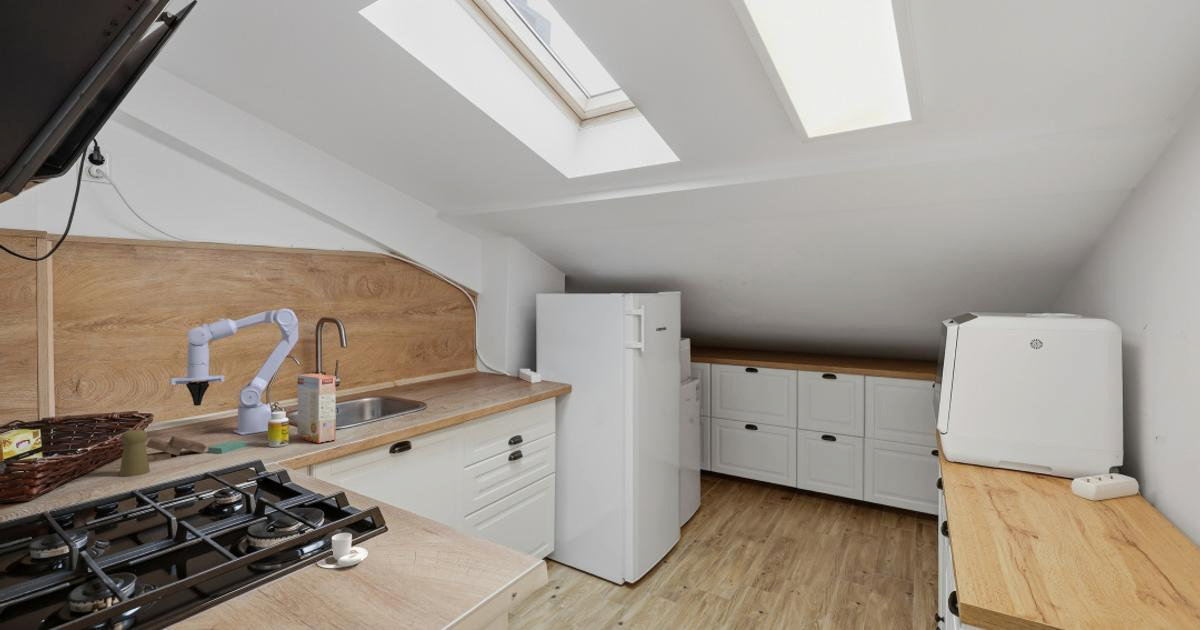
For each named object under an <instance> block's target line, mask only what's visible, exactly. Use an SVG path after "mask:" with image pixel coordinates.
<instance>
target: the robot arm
mask: <svg viewBox="0 0 1200 630" xmlns="http://www.w3.org/2000/svg"><path fill="white" fill-rule="evenodd" d="M296 315H297V314H296V313H295V312H294V311H293V310H292V309H289V308H280V309H273V310H267V311H262V312H259V313H255V314H253V315H249V316H246V317H243V318H240V319H237V320H233V319H230V318H225V317H224V318H219V319H218V320H217V321H215V322H211V323H208V324H207V323H203V324H202V326H197V327H194V328H192V329H190V330H189V331H188V332H187V341H189V342H188V344H187V345H188V346H187V347H188V349H187V366H186V367H187V371H186V376H185V377H183V376H182V377H173V378H172V377H171V378H169V385H170V386H175V385H186V388H187V389H188V391H189V393H190V395H191V398H192V403H193V405H194V406H195V407H196V406H197V407H199V406H201V405H202V401H203V398H204V395H205V394H206V391H207V390H208V389H209V387H210V383H217V382H218V383H219V382H220V383H222V382H223V383H224V382H225V375H223V374H221V375H209V374H210V373H209V372H210V349H209V341H213V342H214V341H218V340H220V339H225V338H228V337H230V336H234V335H235V334H236V333H237V331H238V330H240V329H245V328H247V327H251V326H255V325H258V324H259V325H260V324H263V323H265V324H274V322H275V323H276V324H277V327H279V329H280V333H281V339H280V341H278V343H277V345H276V346H275V347H274V349H273V350H272V352H270V354H269V356H268V357H267V358H266V360H265V361H264V362H263V364H262V366H261V367H260V368H259V369H258V371H257V373H256V374H255V375H254V377H253V378H252V379H251V381H250V382H249V383H248V384H247V385H245V386H243V387H242V388H241V389H240V391H239V395H238V400H239V404H238V405H237V429H234V430H233V432H234V433H236V434H238V435H241V436H244V435H252V434H256V433H264V432H268V420H269V419H272V418H271V413H272V409H271V406H270V404H268V403H265V404H263V402H262V401H261V400H262V394H263V392H264V390H265V389H266V387H267V386H268V383H269V382H270V381H271V379H272V378H273V376H274V375H275V374H276V372H277V371H278V369H279V367H281V365H282V364H283V362H284V361H285V359H286V358H287V356H288V355H289V353H290V352H291V350H292V349H293V348H294V346H295V345H296V344H297V342H298V340H299V320H298V318H297V316H296Z"/></svg>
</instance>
